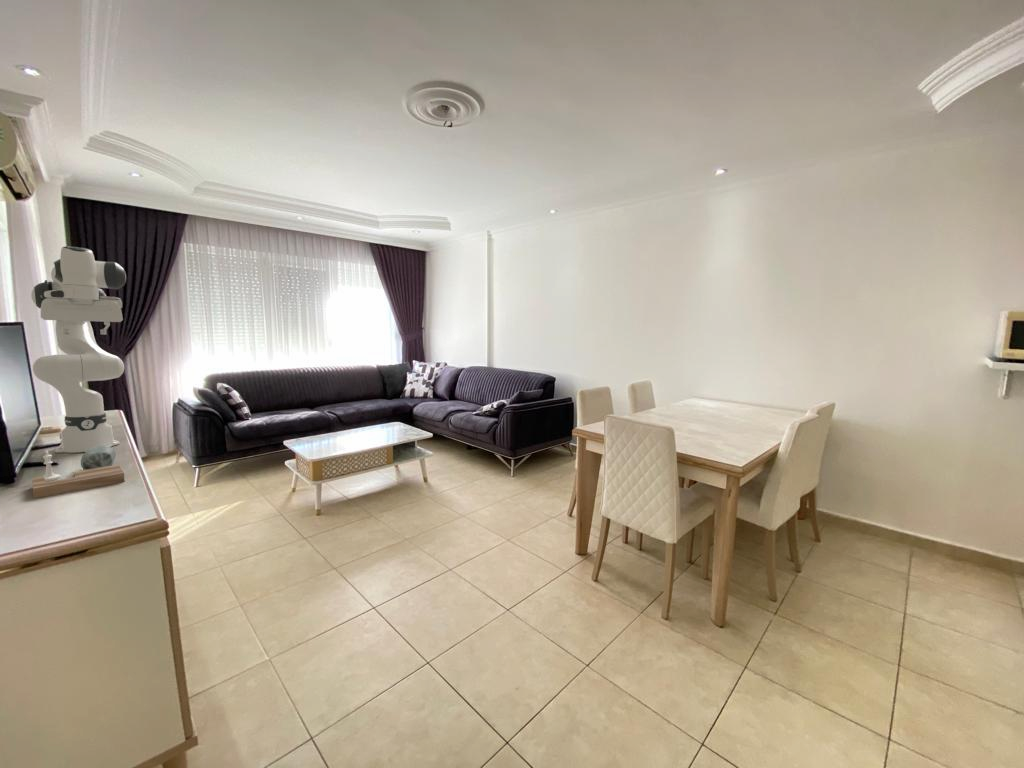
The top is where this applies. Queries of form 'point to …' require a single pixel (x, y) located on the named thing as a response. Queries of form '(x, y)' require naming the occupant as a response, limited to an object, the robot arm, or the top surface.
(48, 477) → the chess piece
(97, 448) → the yarn ball
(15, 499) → the top surface
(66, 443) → the robot arm
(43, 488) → the notch board
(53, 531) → the top surface
